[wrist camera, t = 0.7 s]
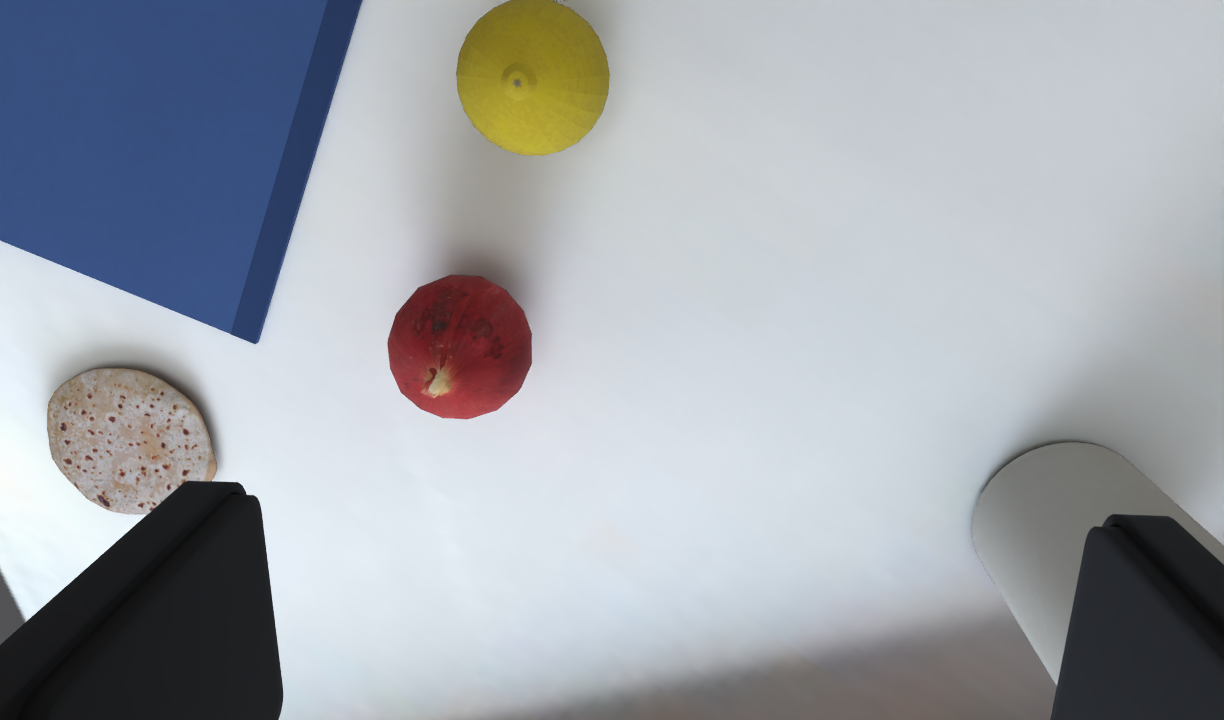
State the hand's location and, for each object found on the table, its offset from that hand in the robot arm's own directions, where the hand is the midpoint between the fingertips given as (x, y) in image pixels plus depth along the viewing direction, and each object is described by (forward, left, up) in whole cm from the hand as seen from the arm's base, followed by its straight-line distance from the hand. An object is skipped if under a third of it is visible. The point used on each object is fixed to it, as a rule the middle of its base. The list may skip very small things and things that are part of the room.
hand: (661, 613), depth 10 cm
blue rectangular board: (+3, -22, -30) cm, 38 cm away
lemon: (-3, -6, -30) cm, 31 cm away
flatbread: (+20, -18, -30) cm, 41 cm away
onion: (+8, -5, -30) cm, 32 cm away
